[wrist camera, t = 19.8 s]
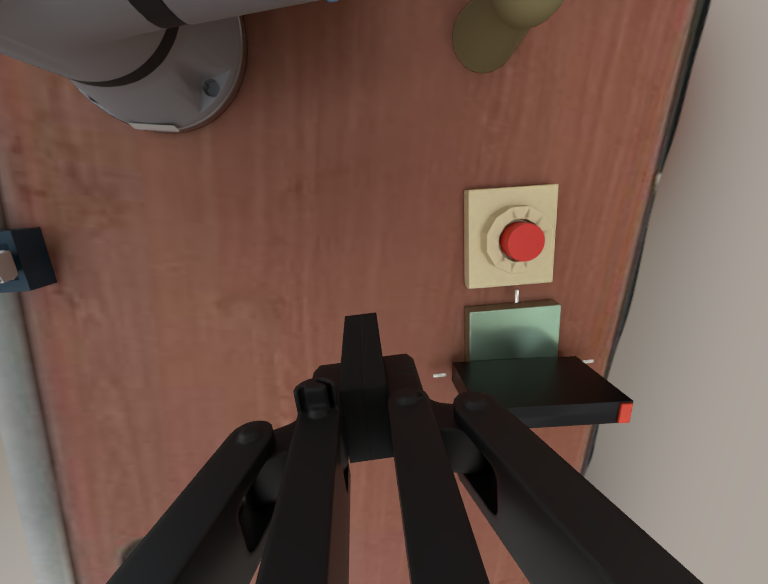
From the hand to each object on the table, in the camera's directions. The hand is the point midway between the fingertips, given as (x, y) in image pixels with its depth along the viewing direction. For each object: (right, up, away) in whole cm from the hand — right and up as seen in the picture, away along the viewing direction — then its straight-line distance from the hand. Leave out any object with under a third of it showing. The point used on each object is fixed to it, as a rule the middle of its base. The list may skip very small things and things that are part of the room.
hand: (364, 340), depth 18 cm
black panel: (+15, -6, +23) cm, 29 cm away
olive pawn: (+10, +26, +16) cm, 32 cm away
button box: (+14, +8, +21) cm, 27 cm away
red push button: (+14, +7, +18) cm, 24 cm away
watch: (-35, +6, +19) cm, 40 cm away
